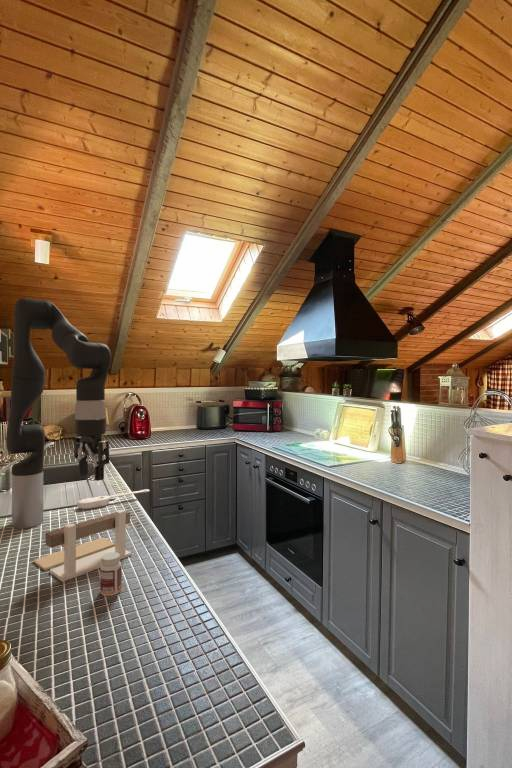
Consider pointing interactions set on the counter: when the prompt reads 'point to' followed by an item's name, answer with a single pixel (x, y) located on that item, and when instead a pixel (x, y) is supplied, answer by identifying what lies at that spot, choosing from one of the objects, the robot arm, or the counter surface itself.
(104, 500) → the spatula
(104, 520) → the rail
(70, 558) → the rack
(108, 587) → the pill bottle
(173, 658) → the counter surface
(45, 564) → the tray
